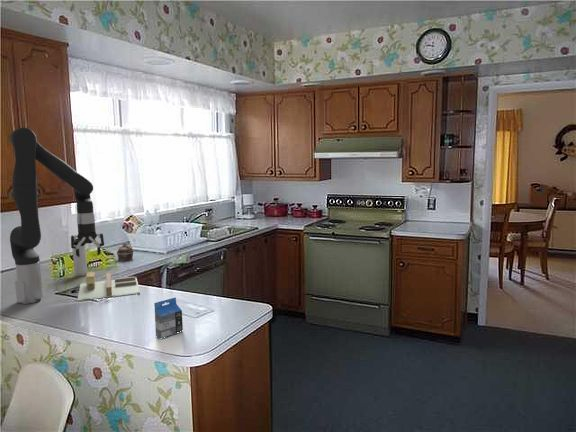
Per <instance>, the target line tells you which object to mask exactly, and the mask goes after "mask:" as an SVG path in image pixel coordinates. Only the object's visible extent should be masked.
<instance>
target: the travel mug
mask: <svg viewBox="0 0 576 432" xmlns="http://www.w3.org/2000/svg"><path fill="white" fill-rule="evenodd" d="M79 241H80V240H79V239H78V238H76V240H74V245H75V246H77V244H78V243H79ZM71 249H72V261H73V272H74V278H83V277H85V278H86V274H87V272H89V271H88V261H87V260H88V259H87V249H86V244H84V243H82V244H81V246H80V247H79V252H80V257H78V256H77V255H76V249H74V248H71Z"/></svg>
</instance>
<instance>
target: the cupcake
mask: <svg viewBox="0 0 576 432" xmlns="http://www.w3.org/2000/svg"><path fill="white" fill-rule="evenodd" d="M134 251H135V250H134V249H133V246H132V243H130V242H127V243H124V242H123V243H121V245H120V246H119V247H118V249H117V251H116V255H117V259H118V261H119V262H128V261H132V260H133V256H134Z"/></svg>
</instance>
